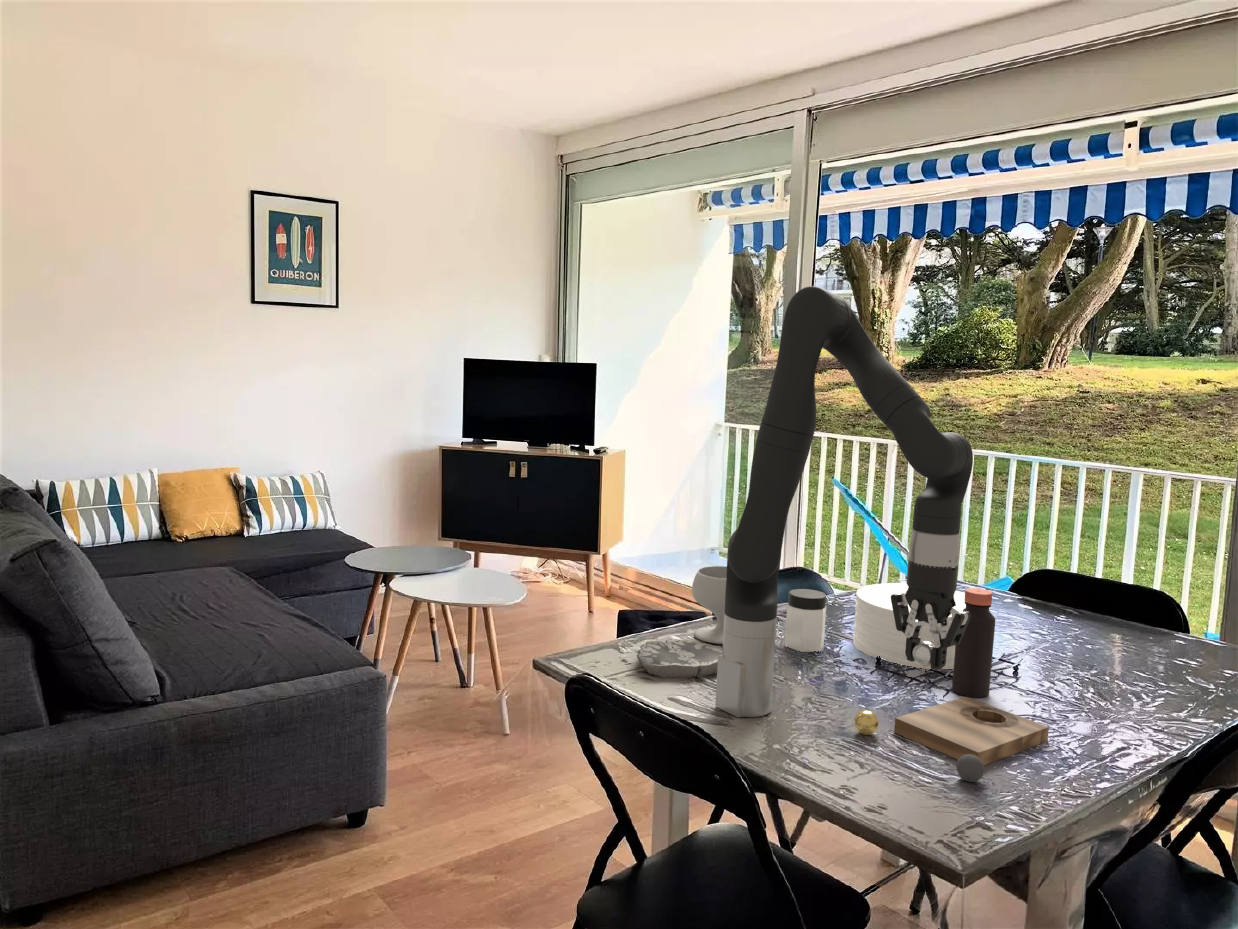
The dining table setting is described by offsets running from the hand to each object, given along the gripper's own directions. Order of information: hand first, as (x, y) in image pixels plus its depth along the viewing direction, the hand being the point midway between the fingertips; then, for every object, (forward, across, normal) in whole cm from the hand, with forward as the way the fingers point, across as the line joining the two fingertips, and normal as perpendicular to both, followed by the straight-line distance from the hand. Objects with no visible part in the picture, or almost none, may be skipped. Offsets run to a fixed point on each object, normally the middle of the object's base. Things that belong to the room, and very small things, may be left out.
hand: (924, 664), depth 147 cm
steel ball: (-2, 0, 0) cm, 2 cm away
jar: (+15, -49, +25) cm, 57 cm away
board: (+15, 0, +14) cm, 21 cm away
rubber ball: (+13, +10, -1) cm, 17 cm away
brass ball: (+13, -10, -1) cm, 17 cm away
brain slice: (+16, -53, -7) cm, 56 cm away
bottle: (+15, -13, +33) cm, 39 cm away
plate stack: (+16, -36, +47) cm, 61 cm away
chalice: (+16, -63, +13) cm, 66 cm away
